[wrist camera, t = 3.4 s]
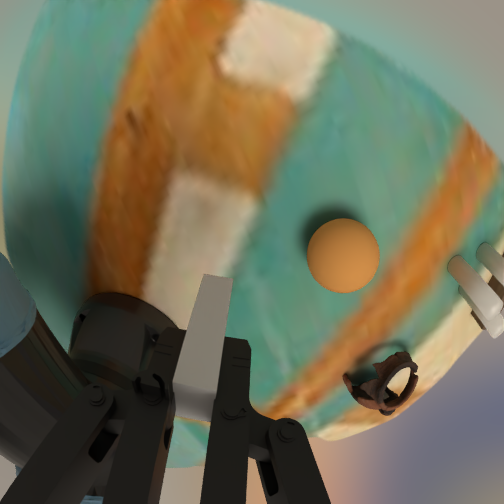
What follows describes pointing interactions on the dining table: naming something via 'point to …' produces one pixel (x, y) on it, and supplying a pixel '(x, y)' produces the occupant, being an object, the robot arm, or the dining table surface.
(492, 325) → the pin
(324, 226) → the ball
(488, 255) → the pin
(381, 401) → the pottery mug
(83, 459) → the robot arm
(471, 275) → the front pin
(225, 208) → the dining table surface
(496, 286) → the back wall
